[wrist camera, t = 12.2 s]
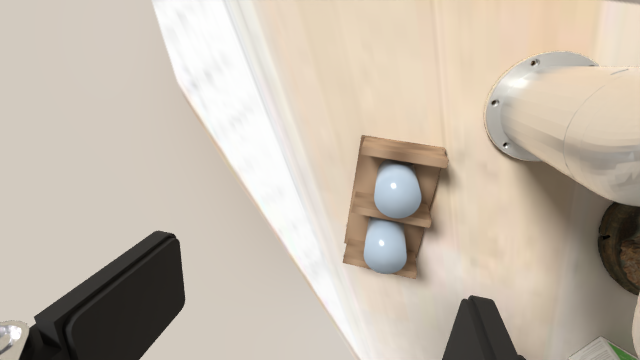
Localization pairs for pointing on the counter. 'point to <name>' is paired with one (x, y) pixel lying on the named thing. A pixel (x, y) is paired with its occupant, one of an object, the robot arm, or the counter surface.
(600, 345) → the skincare box
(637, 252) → the brown rough rounded piece
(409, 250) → the rack
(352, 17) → the counter surface
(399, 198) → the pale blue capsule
